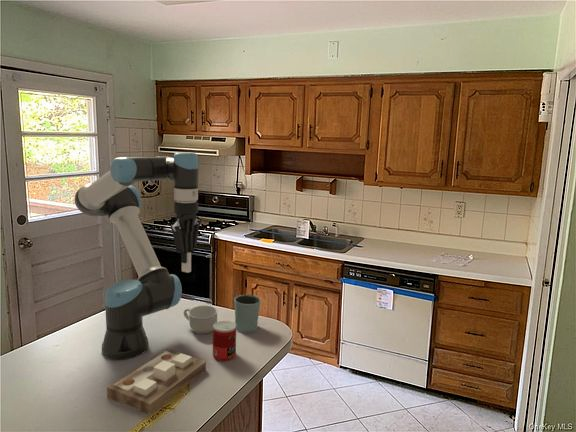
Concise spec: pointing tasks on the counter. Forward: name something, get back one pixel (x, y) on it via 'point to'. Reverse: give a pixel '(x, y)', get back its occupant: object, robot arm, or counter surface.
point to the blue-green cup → (246, 313)
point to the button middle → (164, 370)
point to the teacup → (201, 318)
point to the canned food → (224, 340)
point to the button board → (164, 390)
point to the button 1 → (145, 386)
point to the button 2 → (182, 360)
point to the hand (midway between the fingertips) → (186, 271)
